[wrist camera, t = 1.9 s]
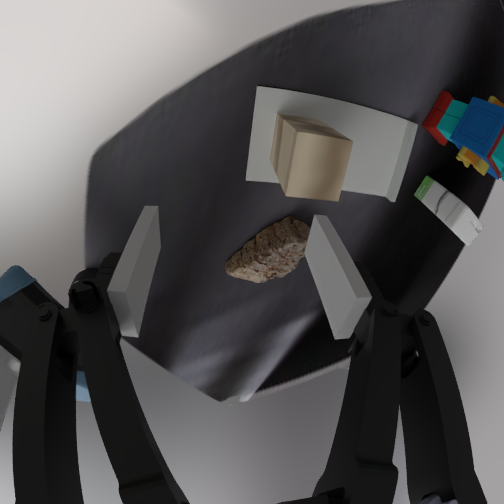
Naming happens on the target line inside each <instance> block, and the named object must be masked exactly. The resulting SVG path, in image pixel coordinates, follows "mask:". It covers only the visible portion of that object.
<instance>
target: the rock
mask: <svg viewBox="0 0 504 504" xmlns="http://www.w3.org/2000/svg"><path fill="white" fill-rule="evenodd" d="M310 230H311V228H310V227H309V226H308V225H306V224H305V223H304V222H302V221H298V220H297V219H296V220H294V219H293V218H292V217H290V216H289V217H286V218H285V219H283V220H282V221H281V222H275V223H274V224H273V225H272V226H269V227H267V228H265V229H263V230H262V231H261V232H260V233H259V234H257V236H256V238H254V239H253V240H251V241H248V242H247V243H246V244H245V245H244V246H243V248H242V249H241V250H240V251H238V252H236V253H235V254H234V255H233V256H232V258H231V259H230V260H229V261H228V262H227V263H226V265H225V269H226V272H227V273H228V274H229V275H231V276H233V277H234V278H242V279H245V280H250V281H253V282H256V283H260V282H262V283H263V282H266V281H268V280H269V279H274V278H275V276H277V277H282V276H285V275H286V274H287V273H289V272H291V271H292V270H294V269H295V268H296V267H297V265H298V264H299V262H300V259H301V258H303V257H304V256H305V254H304V252H305V249H306V245H307V241H308V237H309V234H310Z"/></svg>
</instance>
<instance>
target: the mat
mask: <svg viewBox="0 0 504 504" xmlns="http://www.w3.org/2000/svg"><path fill="white" fill-rule="evenodd" d="M276 113H280V114H287V115H294V116H301V117H307V118H313V119H318V120H320V121H321V122H323V123H325V124H326V125H328V126H330V127H331V128H333V129H335V130H336V131H338V132H339V133H341V134H343V135H344V136H346V137H347V138H349V139H350V140H352V141H353V146H352V150H351V154H350V158H349V162H348V166H347V170H346V174H345V178H344V182H343V186H342V189H341V190H345V191H352V192H359V193H365V194H372V195H378V196H384V197H387V198H388V199H389V200H390V201H392V202H395V200H396V197H397V194H398V191H399V189H400V186H401V182H402V179H403V176H404V173H405V170H406V167H407V163H408V160H409V157H410V153H411V150H412V146H413V143H414V139H415V135H416V131H417V127H418V124H416V123H413V122H411V121H408V120H405V119H403V118H400V117H397V116H394V115H391V114H387V113H384V112H381V111H378V110H374V109H371V108H367V107H364V106H360V105H357V104H353V103H349V102H345V101H341V100H336V99H332V98H327V97H323V96H318V95H313V94H307V93H302V92H296V91H290V90H284V89H277V88H269V87H261V86H257V91H256V99H255V106H254V114H253V123H252V131H251V139H250V147H249V156H248V164H247V173H246V180H248V181H261V182H273V183H280V182H279V180H278V177H277V175H276V173H275V171H274V169H273V167H272V164H271V162H270V160H269V159H270V152H271V145H272V139H273V132H274V125H275V118H276Z"/></svg>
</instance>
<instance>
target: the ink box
mask: <svg viewBox="0 0 504 504" xmlns="http://www.w3.org/2000/svg"><path fill="white" fill-rule="evenodd" d="M414 195H415V196H416V197H417V198H418V199H419V200H420V201H421V202H422V203H424V204H425V205H426V206H427V207H428V208H429V209H430V210H431V211H432V212H433V213H434V214H435V215H436V216H437V217H438V218H439V219H440V220H441V221H443V222H444V223H445V224H446V225H447V226H448V227H449V228H450V229H451V230H452V231H453V232H454V233H455V234H456V235H457V236H458V237H459V238H460V239H461V240H462V241H463V242H464V243H465V244H466V245H467V246H468V247H469V245H470V244H471V243H472V242H473V241H474V239H475V238H476V237H477V236H478V234H479V233H480V232H481V231H482V229H483V225H482V224H481V222H480V221H479V220H478V218H477V217H476V216H475V214H474V213H473V212H472V211H471V209H470V208H468V206H467V205H466V204H465V203H463V202H462V201H461V200H460V199H459V198H457V197H456V196H455V195H454V194H452V193H451V192H450V191H448V190H447V189H446V188H444V187H443V186H442V185H440V184H439V183H438V182H436V181H435V180H434V179H432V178H431V177H429V176H428V175H427V176H426V177H425V179H424V180H423V182H422V183H421V185H420V186H419V188H418V189H417V191H416V192H415V194H414Z"/></svg>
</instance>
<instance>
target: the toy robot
mask: <svg viewBox="0 0 504 504" xmlns="http://www.w3.org/2000/svg"><path fill="white" fill-rule="evenodd" d="M422 126H423V127H424V128H425V129H426V130H427V131H428V132H429V133H430V134H431V135H432V136H433V137H434V138H435V139H436V140H437V141H438V142H439V143H440V144H442V145H444V146H445V145H446V143H447V142H448V140H450V141H452V142H453V143H454V144H455V145H456V146H457V148H458V149H459V150H460V151H459V153H458V155H457V156H456V158H457V159H458V160H459V161H462V162H463V163H464V165H465V166H466V167H469V165H470V163H471V164H472V165H473V166H474V167H475V169H476V170H477V171H478V172H479V173H481V174H482V175H485V174H486V172H488V173H489V174H491V175H492V176H494V177H495V178H496V179H499V178H501V177H502V180H503V181H504V104H503V103H501V102H500V101H499V100H498V99H497V98H495V97H494V96H490V98H489V100H488V102H487V101H484V100H482V99H479V98H476V97H473V98H472V100H471V101H470V103H469V105H468V104H465V103H463V102H460V101H457V100H455V99H454V98H453V97H452V96H451V94H450V93H449V92H446V91H442V92H441V94H440V96H439V97H438V99H437V101H436V102H435V104H434V106H433V108H432V109H431V111H430V112H429V114H428V116H427V117H426V119H425V121H424V122H423V124H422Z"/></svg>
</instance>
